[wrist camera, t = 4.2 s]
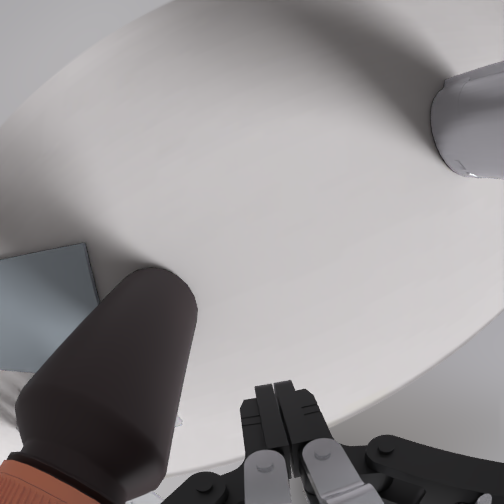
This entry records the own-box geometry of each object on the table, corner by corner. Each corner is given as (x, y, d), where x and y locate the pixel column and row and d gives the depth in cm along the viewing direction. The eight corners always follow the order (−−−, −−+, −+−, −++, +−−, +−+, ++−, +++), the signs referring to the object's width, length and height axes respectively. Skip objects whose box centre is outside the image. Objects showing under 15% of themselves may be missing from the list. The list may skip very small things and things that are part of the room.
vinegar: (195, 264, 22) (98, 545, 3) (201, 343, 24) (172, 593, 4) (112, 266, 22) (-76, 447, 2) (125, 342, 23) (24, 545, 4)
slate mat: (85, 242, 21) (82, 244, 21) (122, 371, 24) (121, 374, 23) (-54, 272, 20) (-56, 273, 19) (-21, 364, 22) (-23, 366, 22)
